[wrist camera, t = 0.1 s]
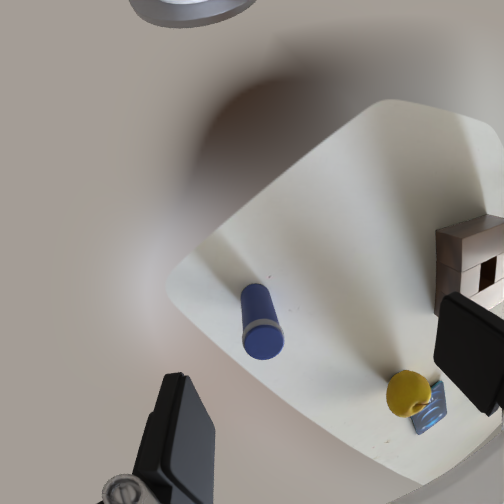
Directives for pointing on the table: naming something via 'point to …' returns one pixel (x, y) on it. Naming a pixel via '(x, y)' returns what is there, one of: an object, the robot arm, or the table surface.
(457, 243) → the holder
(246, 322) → the handle
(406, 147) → the table surface
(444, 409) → the smartphone
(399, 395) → the apple
